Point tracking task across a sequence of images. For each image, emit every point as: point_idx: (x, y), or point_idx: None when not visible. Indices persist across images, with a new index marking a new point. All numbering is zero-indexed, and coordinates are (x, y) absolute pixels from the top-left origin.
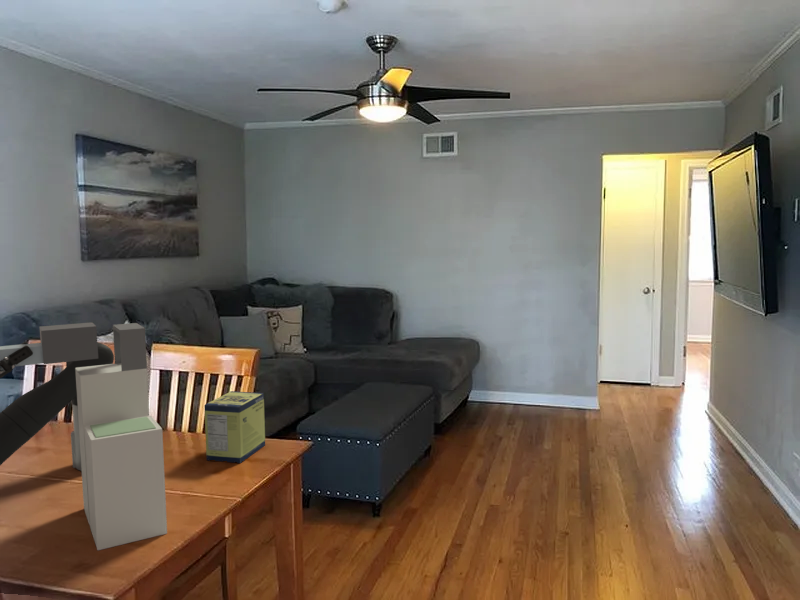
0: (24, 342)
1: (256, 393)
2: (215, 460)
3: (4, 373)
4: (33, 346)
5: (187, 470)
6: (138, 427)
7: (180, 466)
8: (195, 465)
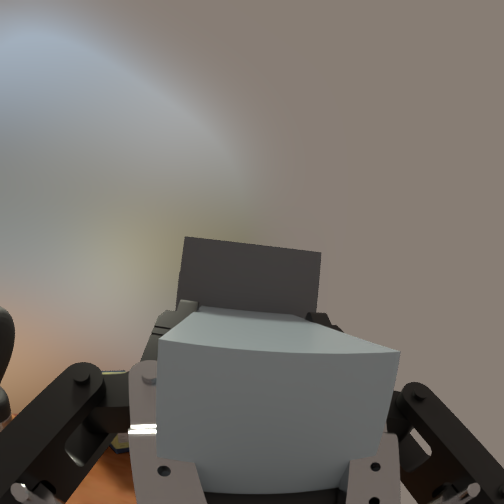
0: (194, 301)
1: (120, 371)
2: (127, 451)
3: (415, 446)
4: (297, 317)
5: (129, 473)
6: None
7: (109, 470)
8: (121, 464)
